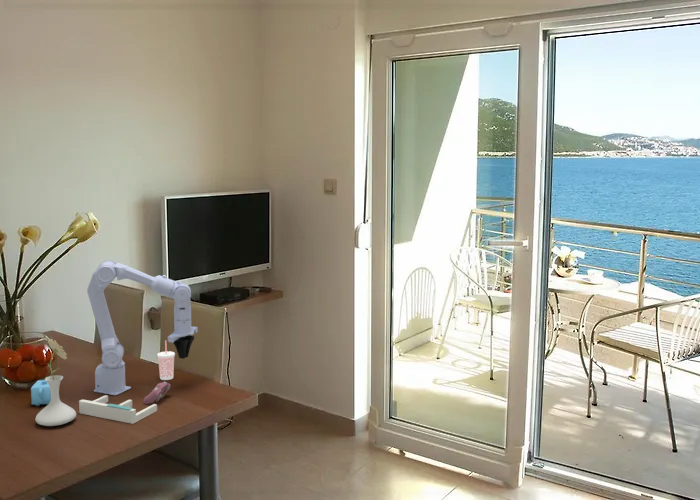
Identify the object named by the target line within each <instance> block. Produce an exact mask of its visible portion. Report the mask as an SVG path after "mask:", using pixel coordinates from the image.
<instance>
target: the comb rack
mask: <svg viewBox="0 0 700 500" xmlns="http://www.w3.org/2000/svg"><path fill="white" fill-rule="evenodd" d="M78 406H79V408H78V410H79V412H78V413H79V414H80V415H87V416H91V417H96V418H101V419H106V420H107V419H108V420H110V421H111V420H112V421H117V422H121V423H125V424H126V423H127V424H132V425H133V424H135V423H137V422H139V421H141V420H142V419H144V418H146V417H148V416H150V415H152V414H154V413H156V412H157V411H158V404H156V403H153V404H151V405H150V406H148V407H146V408H144V409H142V410H140V411H137V409H136V408H133V399H127V400H125V401H123V402H121V403H119V404H116V403H115V404H114V403H109V395H108V394H105V395H103V396H101V397H99V398H97V399H94V400H87V399H80V400H78Z"/></svg>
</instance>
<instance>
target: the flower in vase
mask: <svg viewBox="0 0 700 500" xmlns="http://www.w3.org/2000/svg"><path fill="white" fill-rule="evenodd" d="M47 343H48V345H49V347H50V348H51V350H52V351H53V353H52V355H51V357H50V361H49V363H47V367H48V368H49V369H50V374H51V375H50V376H46V377H45V378H44V380H46V381H47V382H48V384H49V387H50V391H51V401H50V403H49V404H48V405H47V404H46V406H45V407H43V408H42V410H39V412H38V413H37V414H36V416H35V423H37V424H38V425H40V426H45V427H54V426H61V425H64V424H68V423H69V422H72V421H73V420H75V418H76V417H77V412H76V410H75V409H74V408H73V407H71V406H69V405H68V404H66V403H64V402H62V401H61V399H60V385H61V382H62V381H63V379H64V376H63V375H61V374H60V375H59V374H58V375H57V374H55V375H54V372H56V371H58V370H60V368H59V367H57V368H56V369H55V370H54V369H52V361H53V358H54V356H55V354H56V355H57V356H58V357H60V358H61V359H63V360H68V357H67V356H68V354H67V353H66V352H65V349H64V347H63V346H62V345H60V344H58V342H57V340H55V339H54V340H53V338H50V339H48V340H47Z"/></svg>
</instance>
